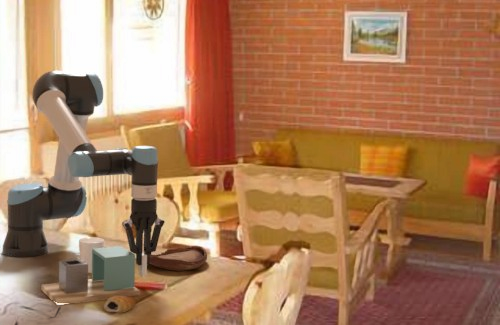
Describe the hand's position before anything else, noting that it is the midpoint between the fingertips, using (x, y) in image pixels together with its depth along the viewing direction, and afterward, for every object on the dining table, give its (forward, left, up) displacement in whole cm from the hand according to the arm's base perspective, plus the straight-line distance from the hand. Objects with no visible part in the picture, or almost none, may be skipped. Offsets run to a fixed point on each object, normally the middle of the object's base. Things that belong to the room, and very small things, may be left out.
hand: (142, 275), depth 231 cm
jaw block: (0, -21, -2) cm, 21 cm away
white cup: (-22, -8, -4) cm, 24 cm away
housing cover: (0, -9, -2) cm, 10 cm away
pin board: (0, -16, -3) cm, 17 cm away
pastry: (+17, -14, -4) cm, 22 cm away
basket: (-19, +21, -4) cm, 28 cm away
